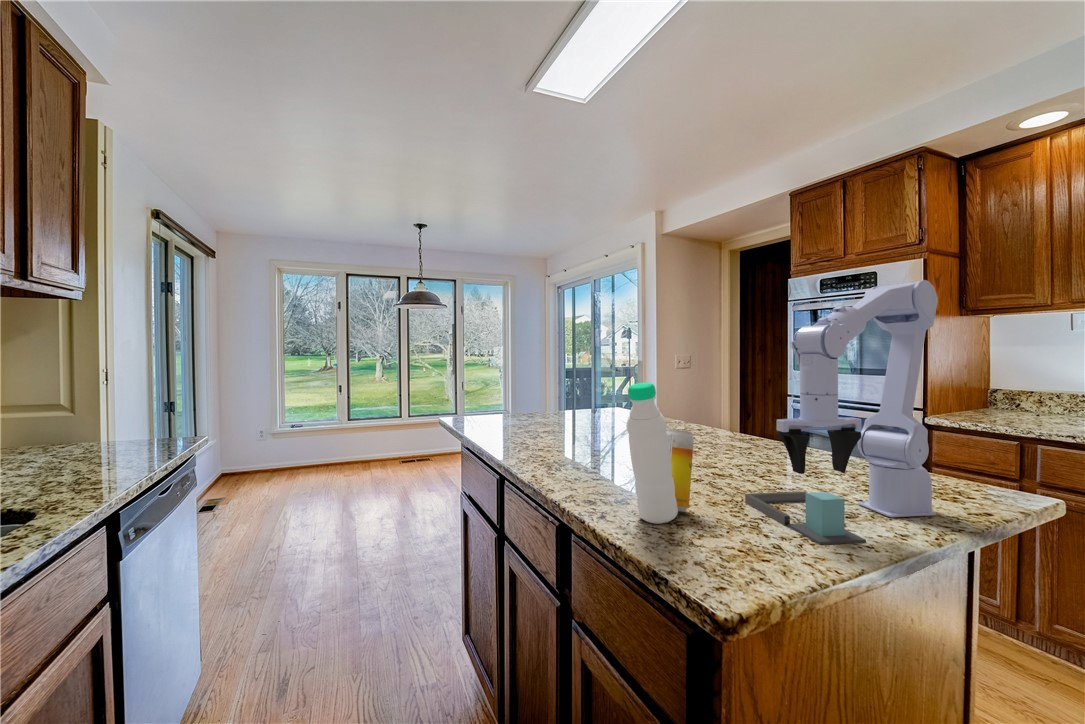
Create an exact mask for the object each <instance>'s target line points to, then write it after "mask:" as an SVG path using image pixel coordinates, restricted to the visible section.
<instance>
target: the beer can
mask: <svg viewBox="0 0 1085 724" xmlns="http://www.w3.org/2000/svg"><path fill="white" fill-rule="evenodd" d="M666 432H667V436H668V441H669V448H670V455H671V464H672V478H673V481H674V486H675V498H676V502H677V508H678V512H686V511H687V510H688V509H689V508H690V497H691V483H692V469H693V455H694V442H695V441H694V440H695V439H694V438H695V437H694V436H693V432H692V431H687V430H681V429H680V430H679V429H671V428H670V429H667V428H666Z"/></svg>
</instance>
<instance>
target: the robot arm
mask: <svg viewBox="0 0 1085 724" xmlns="http://www.w3.org/2000/svg"><path fill="white" fill-rule="evenodd" d="M864 292H865V293H864V296H863V297H862V298H861V299H860V300H858V301H857V302H856V303H855V304H854V305H852V306H846V305H839V306H835V307H834V308H832V312H831V313H829V315H826V316H825V317H820V318H818V319H817V322H816V323H814V324H813V325H805V326H802V327H800V328H799V329H798V330H797V331H796V332H795V333H794V334H793V340H792V341H790V344H791V349H792V351H793V354H794V355H795V359H796V366H797V367H798V368H799V417H793V418H781V419H776V431H777V434H778V436H779V438H780V439H781V441H782V444H783V445H784V447H785V449H786V451H787V454H788V457H789V460H790V464H791V468H792V471H793V472H794V473H796V474H800V475H804V474H805V472H806V455H807V448H808V445H809V441H810V439H811V437H810V436H809V435H806V434H804V432H805V431H806V432H810V431H827V435H828V438H829V442H830V447H831V448H830V449H831V463H832V464H831V465H832V469H833V470H834V471H837V472H840V473H846V470H847V467H848V463H849V461H850V457H851V455H852V453H853V451H854V448H855V447H856V445H857V448H858V451H859V453H860V455H861V456H862V457H863V458H864V462H866V463H868V501H866V500H865V501H857V504H858V505H859V506H861V507H863V508H866V509H869V510H871V511H873V512H876V513H879V514H881V515H884V516H887V517H890V518H901V517H904V518H905V517H924V516H925V517H926V516H927V517H929V516H937V512H935V511H933V510H932V509H933V508H932V507H933V505H932V504H933V502H932V501H933V492H932V491H933V484H932V482H933V481H932V478H931V475H930V473H929V472H928V470H927V469H926V468H925V467H923V464H924V463H925V462H926V460H927V459H928V456H929V453H930V452H929V449H930V448H929V443H928V441H929V439H928V436H929V435H928V434H929V432H928V431H929V430H928V429H927V428H926V426H925V425H924V424H922V423H921V422H920V421H919V420H917V419H916V418H915V417H913V413H914V407H915V400H916V395H917V394H916V393H917V389H918V388H917V387H918V382H919V376H920V370H921V364H922V357H923V351H924V344H925V340H926V339H925V338H926V333H927V331H928V330H929V329H931V328H932V327H934V323H935V319H936V313H937V306H938V301H939V299H938V295H937V292H936V288H935V287H934V285H933V284H932V283H931V282H930V281H928V280H926V279H922V280H918V281H914V282H907V283H905V282H904V283H900V284H899V283H898V284H893V285H891V284H890V285H884V286H873V287H871V288H870V289H868V290H866V291H864ZM871 320H873V321H874V322H875V323H876V324H877V325H878V327H879V328H880V329H881V330H883V331H885V332H889V333H890V335H891V342H890V346H889V351H888V352H889V354H888V357H887V358H888V359H887V365H886V371H885V377H884V382H883V387H882V388H883V389H882V393H881V394H882V395H881V400H880V407H879V411H878V412H876V413H875V414H873V415H871V416H869V417H867V418H866V419H864V424H863V427H862V419H861V418H857V417H851V416H850V417H839V357H842V356H843V355H844V354H845V352H846V348H847V346H848V345H849V343H850V341H851V340H853V339H855V338H857V337H858V336H859V335H860V334H862V333H863V332H864V331H865V329H866V327H867V322H868V321H871Z"/></svg>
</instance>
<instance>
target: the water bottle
mask: <svg viewBox="0 0 1085 724" xmlns="http://www.w3.org/2000/svg"><path fill="white" fill-rule="evenodd" d="M656 391H657V390H656V386H655V385H654V384H653V383H650V382H639V383H634V384H632V385H629V386H628V388H627V395H628V398H629V401H630V402H631V404H632V407H631V409H630V411H629V415H628V418H627V420H626V421H627V422H626V424H625V425H626V431H627V434H628V443H629V445H628V446H629V453H630V459H631V460H630V461H631V466H632V470H633V471H632V472H633V476H634V479H635V481H634V486H635V487H634V488H635V489H634V490H635V493H636V497H637V511H638V514H639V516H640V518H641V519H642V520H643V521H645V522H647V523H651V524H655V525H656V524H660V525H661V524H665V523H669V522H672V520H674V519H675V518H676V517H677V516H678V513H679V511H678V508H677V502H676V498H675V486H674V481H673V478H672V464H671V455H670V448H669V441H668V436H667V432H666V429H667V428H668V427H667V426H668V425H667V421H666V419H665V416H664V415H663V414H662V412H661V410H660V408H659V407H658V406H657V404H656V403H655V399H656V396H657V395H656V394H657V392H656Z"/></svg>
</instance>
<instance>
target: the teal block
mask: <svg viewBox="0 0 1085 724" xmlns="http://www.w3.org/2000/svg"><path fill="white" fill-rule="evenodd" d="M845 505H846V504H845V498H843V497H841V496H839V495H836V494H833V493H831V492H829V491H819V492H808V493H806V501H805V523H806V528H808V529H810V530H811V531H813V532H815V533H817V534H819V535H820V536H838V535H845V530H846V527H845V524H846V523H845V518H846V517H845Z"/></svg>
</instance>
